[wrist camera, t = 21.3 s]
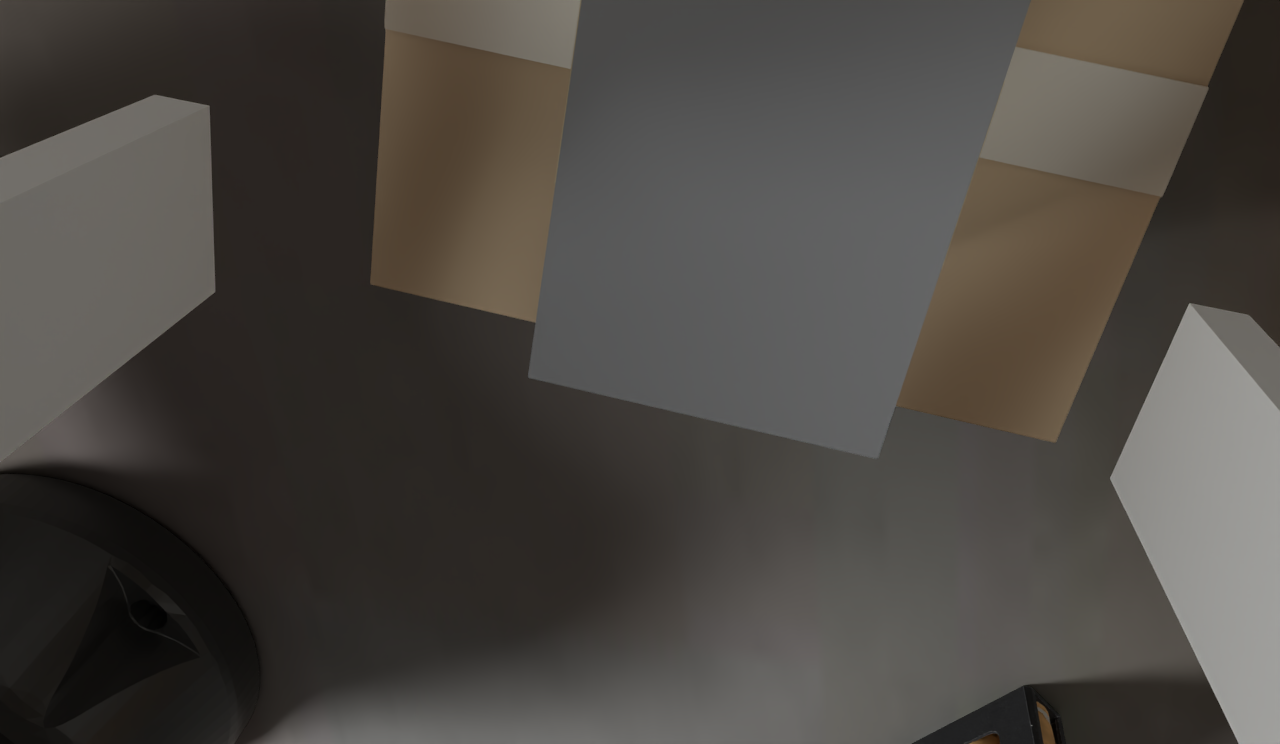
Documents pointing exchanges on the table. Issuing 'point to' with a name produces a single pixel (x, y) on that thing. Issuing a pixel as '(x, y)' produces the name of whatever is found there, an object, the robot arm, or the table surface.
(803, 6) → the grey taped box
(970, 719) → the ammunition clip
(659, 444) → the table surface
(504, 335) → the table surface
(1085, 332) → the lid
